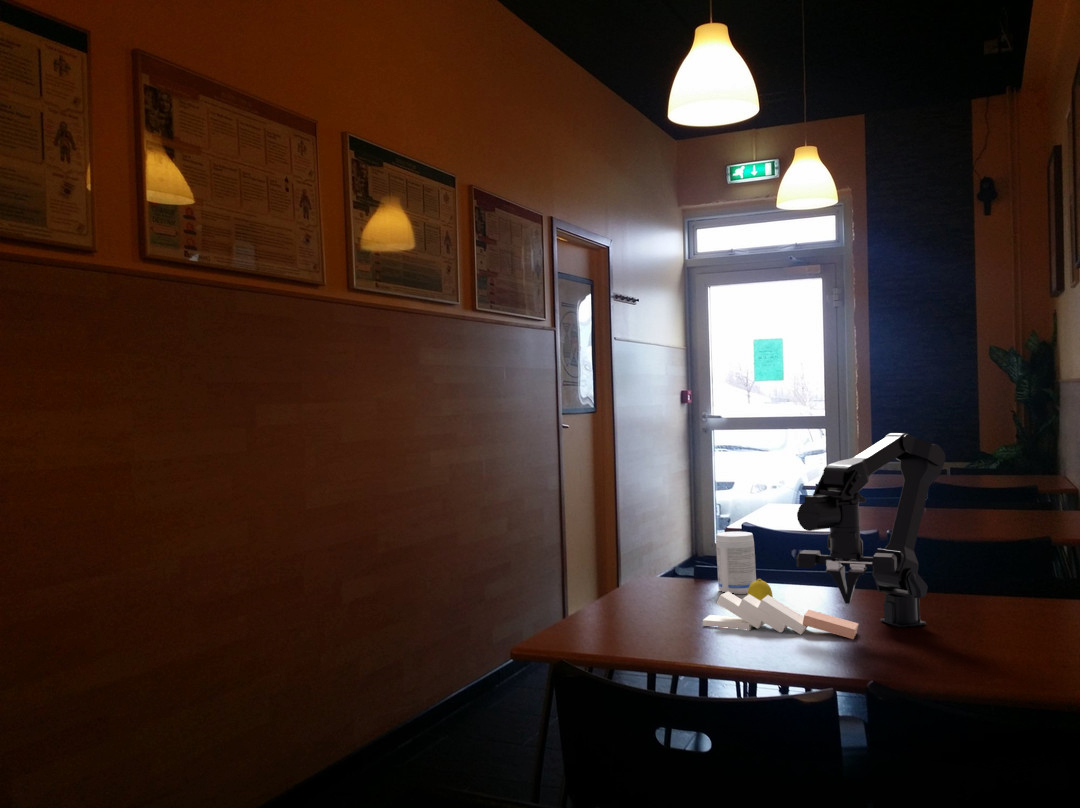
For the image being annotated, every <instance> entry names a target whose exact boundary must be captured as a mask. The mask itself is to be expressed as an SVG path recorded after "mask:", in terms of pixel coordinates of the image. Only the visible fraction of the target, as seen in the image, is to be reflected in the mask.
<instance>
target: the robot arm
mask: <svg viewBox="0 0 1080 808" xmlns="http://www.w3.org/2000/svg"><path fill="white" fill-rule="evenodd" d="M894 460H897V461H899V462H900V463H899V468H900V471H901V474H902V477H903V485H902V488H901V489H902V490H901V494H900V498H899V502H898V505H897V506H898V507H897V510H896V514H895V518H894V522H893V527H892V531H891V534H890V539H889V543H888V544H887V545H886V546H885V548H877V549H876V551H875V553H874V555H873V556H864V541H863V539H862V538H861V530H860V529H861V528H860V527H861V526H860V506H859V505H860V503H861V504H863V503H866V502H867V499H866V498H865V497H864V496H863V495H861V493H860V491H861V490H863V488H865V486H867V484H868V483H869V481H870V476H871V475H873V474H874V473H875V472H877V471H878V470H880V469H882V468H883V467H885V466H886V465H887V464H890V463H891V462H892V461H894ZM945 461H946V454H945V451H944V450H943V449H942V447H941V446H940V445H939V444H936V443H931V442H929V441H926V440H922V439H920V438H916V437H915V436H913V435H911V434H909V433H907V432H890V433H888V434H886V435H885V436H884V438H882V439H881V440H879V441H877V442H875V443H874V444H872V445H871V446H870V447H868V448H866V449H865V450H863V451H862V452H860V453H858V454H857V455H855V456H854V457H851V458H848V459H847V458H846V459H843V460H842V459H841V460H838V461H836V462H831V463H829V464H827V465H826V466H825V467H824V468H823V472H822V475H821V477H820V478H819V481H818V483H817V486H816V487H815V490H814V491H813V493H812V495H805V496H804V502H803V503H801V504H800V506H799V507H798V511H797V513H796V514H797V515H796V516H797V521H798V524H799V526H800V527H801V528H802V529H803V530H805V531H807V532H811V531H813V532H814V531H818V530H819V531H820V530H827V529H829V533H828V534H827V545H826V546H827V549H828V550H829V551H830V554H829V555H828V554H821V551H820V550H816V549H815V550H811V549H808V550H807V549H803V550H801V551H799V553H798V554H797V555H796V559H795V560H796V568H803V569H812V568H814V567H815V566H816V565H817V564H818V565H825V566H826V569H825V573H826V574H830V575H831V577H832V578H833V580H834V582H835V583H836V585H837V587H838V590H839V593H840V595H841V597H842V599H843V601H844V604H845V605H846V604H847V605H850V604H851V601H852V598H853V594H854V591H855V587H856V585H857V582H858V579H859V578H860V576H862V575H865V573H866V572H868V571H867V570H868V568H867V567H872V577H873V578H874V583H875V585H876V589H877V592H878V593H883V594H884V601H883V616H884V618H880V622H882V623H885V624H889V625H891V626H894V627H898V628H908V627H907V626H910V627H917V625H918V626H922V625H923V626H924V625H927V623H926V621H924V620H921V605H920V603H921V602H920V599H923V597H926V596H927V592H928V589H929V588H928V587H929V586H928V584H927V583H926V582H925V580H924V579H923V578H922V577H921V575H919V574H918V572H919V561H918V559H917V555H916V553H915V548H916V543H917V538H918V534H919V530H920V526H921V522H922V518H923V512H924V509H925V507H926V506H925V505H926V500H927V497H928V493H929V489H930V486H931V485H932V484H933V483H934V482H935V481H936V480H937V479H938V478H939V477H940V476H941V473H942V471H943V468H944V464H945ZM845 566H849V568H850V569H849V570H848V572H847V581H846V567H845Z"/></svg>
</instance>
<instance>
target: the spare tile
mask: <svg viewBox="0 0 1080 808" xmlns="http://www.w3.org/2000/svg"><path fill="white" fill-rule="evenodd" d="M803 617H804V619H803V625H806V626H808V627H810V628H813V629H817V630H820V631H823V632H827V633H830V634H834V635H838V636H840V637H845V638H848V639H851V640H854V639H855V637H856V635H857V633H858V629H859V623H858V622H854V621H851V620H848V619H843V618H840V617H837V616H834V615H830V614H826V613H821V612H819V611H816V610H812V609H808V610H807V611H806V612H805V613H804V615H803Z"/></svg>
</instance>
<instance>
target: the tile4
mask: <svg viewBox="0 0 1080 808" xmlns="http://www.w3.org/2000/svg"><path fill="white" fill-rule="evenodd" d="M742 599H743V598H740V597H738V596H736V594H732V593H730V592H729V591H728V592H726V593H723V592H722V594H720V595H719V597H718V599H717V601H716V604H718V605H719V606H721V607H722V608H724V609H725V610H726V611H729V612H730V613H732V614H733V615H734V616H736V617H740V618H741V619H743V620H745V621H746V622H748V623H749V624H751V625H752V626H753V628H755V629H759V628H762V626H765V625H766V623H764V622H762V621H761V620H759V619H758V618H756V617H754V616H753V615H751V614H750V613H748V612H746V611H745V610H743V609H742V608H740V607H739V605H740V603H741V601H742Z"/></svg>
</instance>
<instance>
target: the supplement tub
mask: <svg viewBox="0 0 1080 808" xmlns="http://www.w3.org/2000/svg"><path fill="white" fill-rule="evenodd" d="M754 539H755V538H754V535H753V533H752V532H748V531H723V532H718V533H716V535H715V549H716V565H717V566H716V567H717V581H718V582H717V584H718V585H717V586H718V590H719V591H720V592H721V591H722V592H721V593H723V592H725V593H726V592H728V591H729V592H730V593H734V594H733V595H747V593H748V588H749V586H750V585H751V583H753V582H754V581H756V580H757V572H756V554H755V550H756V549H755V541H754Z"/></svg>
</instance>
